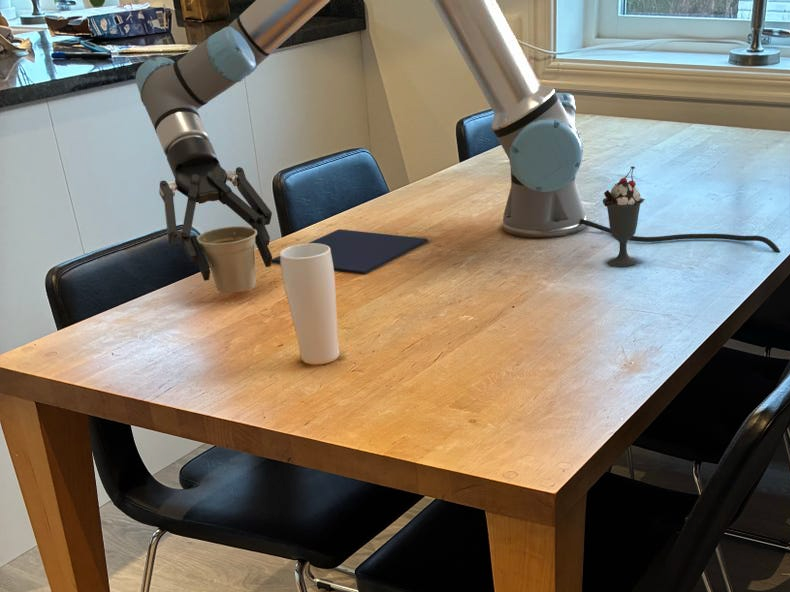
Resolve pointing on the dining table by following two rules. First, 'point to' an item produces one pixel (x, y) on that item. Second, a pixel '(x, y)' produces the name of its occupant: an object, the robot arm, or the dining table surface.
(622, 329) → the dining table surface
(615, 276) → the dining table surface
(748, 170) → the dining table surface
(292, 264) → the white vase
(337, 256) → the placemat
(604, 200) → the sundae
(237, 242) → the flower pot
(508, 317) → the dining table surface
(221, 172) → the robot arm
